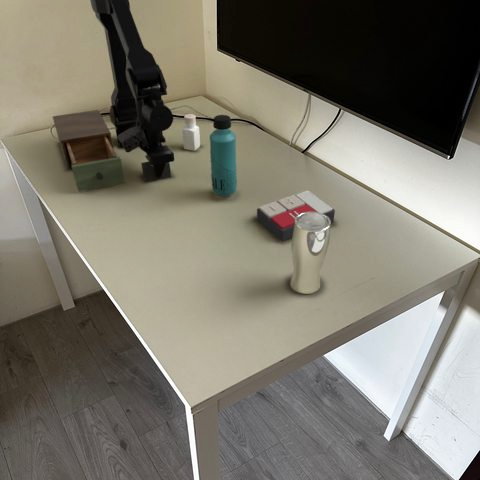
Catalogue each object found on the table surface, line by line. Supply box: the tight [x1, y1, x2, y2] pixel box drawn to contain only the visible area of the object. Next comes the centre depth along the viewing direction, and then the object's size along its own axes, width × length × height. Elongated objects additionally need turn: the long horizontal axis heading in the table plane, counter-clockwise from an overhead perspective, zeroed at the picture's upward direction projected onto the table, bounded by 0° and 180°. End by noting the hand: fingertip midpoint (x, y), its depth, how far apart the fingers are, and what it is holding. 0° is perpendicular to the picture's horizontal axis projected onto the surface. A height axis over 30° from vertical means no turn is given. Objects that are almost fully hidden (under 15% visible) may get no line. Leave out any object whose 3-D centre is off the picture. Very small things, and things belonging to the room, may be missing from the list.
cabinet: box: [52, 109, 115, 170], centre depth 138 cm, size 18×13×8 cm
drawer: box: [66, 136, 126, 192], centre depth 127 cm, size 19×12×7 cm, turn 23°
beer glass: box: [289, 212, 332, 295], centre depth 91 cm, size 7×7×15 cm
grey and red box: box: [256, 190, 336, 242], centre depth 112 cm, size 11×4×15 cm
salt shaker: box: [181, 113, 201, 152], centre depth 139 cm, size 4×4×10 cm
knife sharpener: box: [140, 161, 172, 183], centre depth 128 cm, size 7×3×5 cm, turn 113°
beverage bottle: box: [209, 114, 237, 197], centre depth 115 cm, size 6×7×20 cm
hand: (157, 174), depth 129 cm, fingers closed on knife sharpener, 3 cm apart
